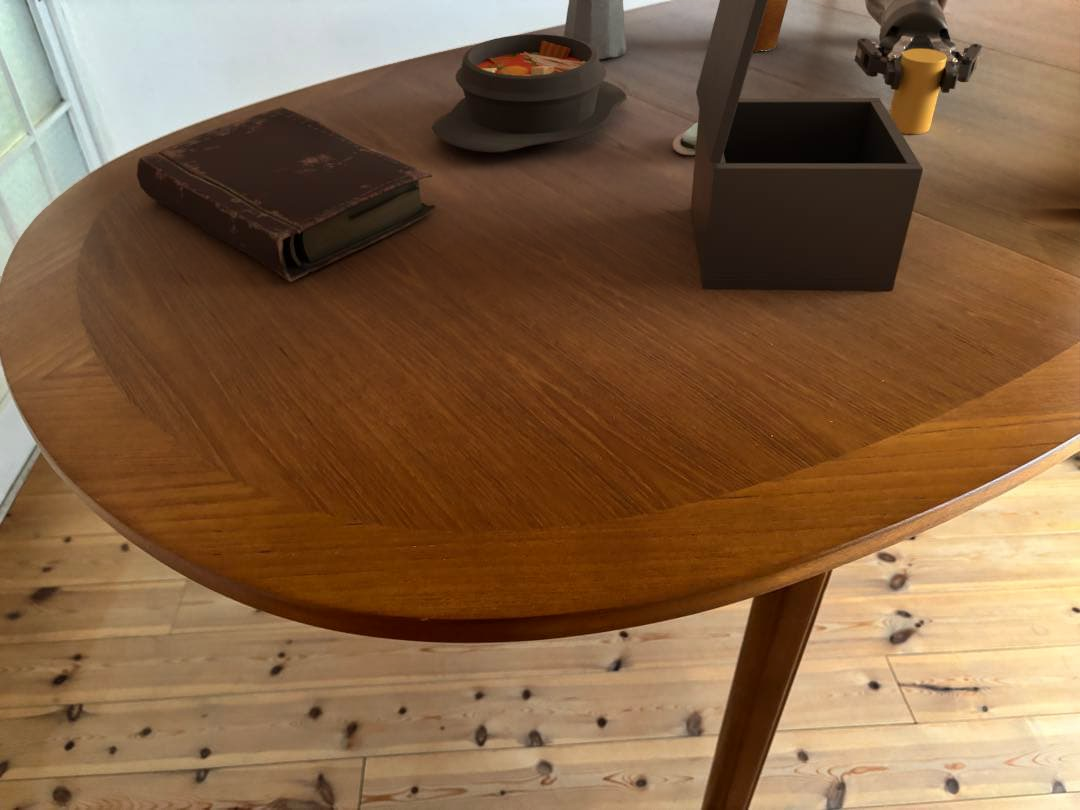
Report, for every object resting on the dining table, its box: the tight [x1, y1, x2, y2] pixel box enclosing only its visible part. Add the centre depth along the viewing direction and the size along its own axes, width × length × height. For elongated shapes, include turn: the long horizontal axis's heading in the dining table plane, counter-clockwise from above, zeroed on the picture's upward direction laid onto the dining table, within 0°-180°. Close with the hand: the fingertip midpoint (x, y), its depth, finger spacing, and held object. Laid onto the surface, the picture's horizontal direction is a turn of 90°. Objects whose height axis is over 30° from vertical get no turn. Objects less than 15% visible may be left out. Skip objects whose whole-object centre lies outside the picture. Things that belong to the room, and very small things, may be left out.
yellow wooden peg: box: [889, 49, 947, 135], centre depth 102 cm, size 5×5×8 cm
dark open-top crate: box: [690, 97, 924, 292], centre depth 80 cm, size 16×15×11 cm
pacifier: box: [672, 121, 698, 156], centre depth 99 cm, size 7×6×6 cm
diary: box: [136, 106, 436, 283], centre depth 91 cm, size 19×25×5 cm
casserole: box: [431, 33, 627, 154], centre depth 105 cm, size 25×19×8 cm
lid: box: [695, 0, 768, 163], centre depth 72 cm, size 17×15×1 cm
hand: (922, 82), depth 99 cm, fingers closed on yellow wooden peg, 4 cm apart
